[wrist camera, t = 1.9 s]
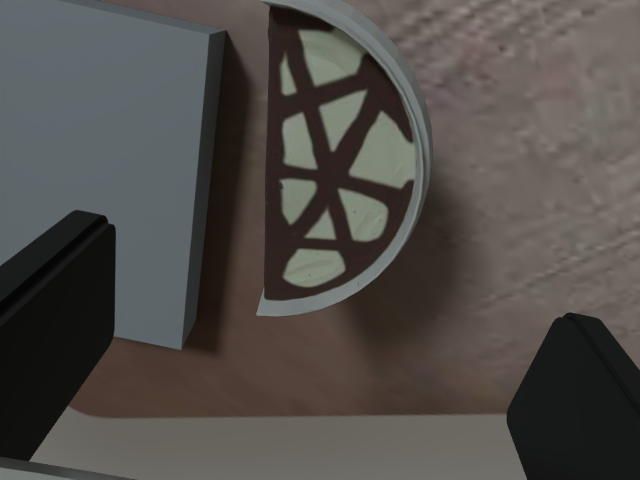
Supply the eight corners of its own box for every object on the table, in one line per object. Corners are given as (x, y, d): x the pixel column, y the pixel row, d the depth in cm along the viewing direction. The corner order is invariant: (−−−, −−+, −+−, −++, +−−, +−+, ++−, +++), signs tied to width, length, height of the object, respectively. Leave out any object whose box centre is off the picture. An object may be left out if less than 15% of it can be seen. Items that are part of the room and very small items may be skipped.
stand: (226, 29, 24) (195, 38, 19) (196, 320, 32) (169, 372, 27) (-60, -35, 23) (-159, -42, 19) (-16, 276, 32) (-77, 322, 27)
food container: (393, 231, 28) (410, 342, 19) (288, 221, 28) (256, 326, 19) (431, -7, 22) (478, -7, 13) (299, -18, 23) (260, -24, 14)
